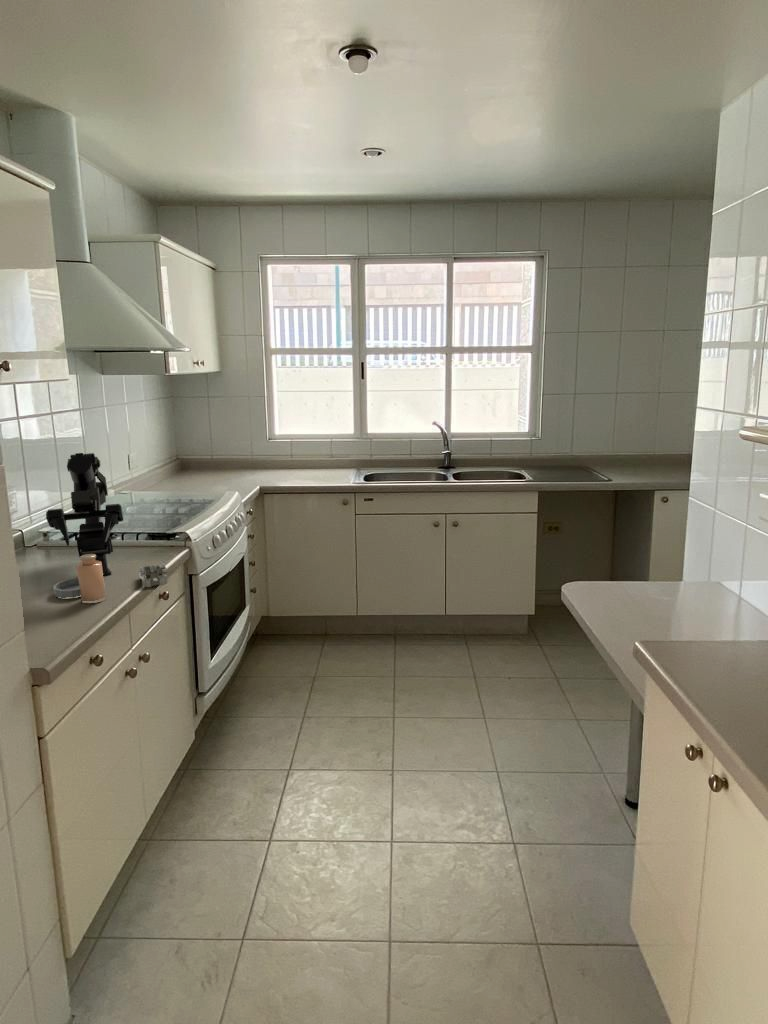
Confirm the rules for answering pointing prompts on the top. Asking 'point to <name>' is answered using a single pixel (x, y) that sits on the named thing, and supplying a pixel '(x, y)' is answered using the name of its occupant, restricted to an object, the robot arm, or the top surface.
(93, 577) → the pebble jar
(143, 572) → the egg carton
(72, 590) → the slate bowl
